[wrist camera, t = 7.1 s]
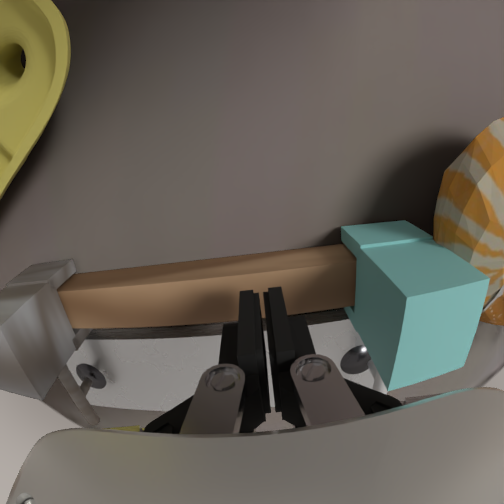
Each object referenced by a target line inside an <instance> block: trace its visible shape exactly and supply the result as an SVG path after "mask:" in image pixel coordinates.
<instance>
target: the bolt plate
mask: <svg viewBox="0 0 504 504" xmlns="http://www.w3.org/2000/svg"><path fill="white" fill-rule="evenodd" d="M303 315H304V316H305V318H306V322H307V325H308V328H309V332H310V335H311V338H312V342H313V345H314V349H315V352H316V354H320V355H323V356H327V357H328V358H330V359H331V360H332V361H333V362H334V363H335V365H336V366H337V368H338V370H339V371H340V373H341V375H342V376H343V378H345V379H348V380H350V381H353V382H355V383H358V384H360V385H363V386H365V387H368V388H370V389H372V388H373V384H374V378H373V376H372V374H371V372H370V370H369V367H368V365H367V363H368V361H369V360H371V357H370V355H369V353H368V351H367V349H366V347H365V345H364V343H363V341H362V339H361V337H360V335H359V334H358V332H356V331H355V329H354V327H353V325H352V323H351V321H350V319H349V317H348V315H347V314H346V312H345V310H344V309H338V310H332V311H325V312H318V313H311V314H303ZM296 316H300V315H296ZM288 317H292V316H288ZM233 323H238V322H233ZM262 323H263V331H264V339H265V347H266V358H267V370H268V382H269V395H270V407H275V402H274V393H273V385H272V376H271V367H270V359H269V349H268V339H267V328H266V319H262ZM223 324H228V323H221V324H209V325H196V326H181V327H164V328H141V329H102V330H91V332H90V333H89V334H88V336H87V337H86V339H85V340H84V342H83V343H82V345H81V346H80V347H79V349H78V350H77V351H74V353H73V354H72V356H71V357H70V359H69V360H68V362H67V363H66V365H67V366H68V368H69V370H70V372H71V374H72V375H73V377H74V379H75V381H76V382H77V384H78V386H79V387H80V386H81V384H82V382H83V380H84V378H89V379H91V380H92V382H93V384H92V385H91V387H90V389H89V391H88V393H87V395H86V399H87V400H88V402H89V403H90V405H96V406H104V407H113V408H123V409H136V410H153V411H169V410H171V409H173V408H174V407H176V406H177V405H179V404H180V403H182V402H183V401H185V400H186V399H188V398H189V397H191V396H192V395H194V393H195V391H196V388H197V386H198V383H199V380H200V378H201V376H202V374H203V373H204V372H205V371H206V370H207V369H209V368H211V367H212V366H215V365H218V362H219V354H220V345H221V337H222V328H223Z"/></svg>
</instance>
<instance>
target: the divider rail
mask: <svg viewBox="0 0 504 504" xmlns="http://www.w3.org/2000/svg"><path fill="white" fill-rule="evenodd" d="M356 264H357V258H356V257H355V255H354V254H353V253H352V252H351V251H350V250H349V249H348V248H347V246H346V245H345V244H336V245H328V246H319V247H310V248H301V249H293V250H284V251H275V252H266V253H258V254H249V255H240V256H231V257H222V258H214V259H205V260H196V261H187V262H178V263H169V264H160V265H151V266H142V267H133V268H125V269H116V270H107V271H98V272H88V273H79V274H74V273H75V272H76V267H75V264H74V261H73V259H70V260H63V261H56V262H49V263H42V264H35V265H31V266H29V267H28V268H27V269H25V270H24V271H23V272H21V273H20V274H19V275H17V276H16V277H15V278H13V279H12V280H11V281H9V282H8V283H7V284H6V286H7V287H5V288H4V289H3V290H1V291H0V389H1V390H5V391H8V392H11V393H15V394H19V395H23V396H26V397H30V398H34V399H39V400H43V399H44V398H45V396H46V394H47V393H48V391H49V389H50V388H51V386H52V385H53V383H54V382H55V380H56V378H57V377H58V378H59V379H60V381H61V383H62V384H63V386H64V387H65V389H66V391H67V392H68V394H69V395H70V397H71V398H72V400H73V401H74V403H75V404H76V406H77V407H78V409H79V410H80V412H81V413H82V414H83V416H84V417H85V419H86V420H87V421H88V423H89V424H90V425H92V426H94V425H97V424H98V423H99V422H100V418H99V417H98V415H97V414H96V412H95V411H94V409H93V408H92V406H91V405H90V403H89V402H88V400H87V399H86V395H87V393H88V391H89V389H90V387H91V385H92V384H93V382H92V380H91V379H89V378H84V380H83V382H82V384H81V386H80V387H79V386H78V384H77V382H76V381H75V379H74V377H73V375H72V374H71V372H70V370H69V368H68V366H67V365H66V363H67V362H68V360H69V359H70V357H71V356H72V354H73V353H74V351H77V350H78V349H79V347H80V346H81V345H82V343H83V342H84V340H85V339H86V337H87V336H88V334H89V333H90V332H91V330H92V329H93V328H135V327H158V326H176V325H192V324H205V323H218V322H229V321H238V315H239V293H240V291H245V290H253V292H254V293H259V298H260V306H261V314H262V318H265V308H264V297H263V292H268V288H272V287H280V286H281V288H282V292H283V297H284V301H285V306H286V311H287V315H293V314H301V313H308V312H315V311H322V310H329V309H336V308H342V307H349V306H355V291H356Z"/></svg>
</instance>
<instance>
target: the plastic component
mask: <svg viewBox="0 0 504 504" xmlns="http://www.w3.org/2000/svg"><path fill="white" fill-rule="evenodd" d="M22 49H23V50H24V52H25V55H26V66H25V69H24V68H23V66H22V64H21V53H22ZM70 58H71V46H70V36H69V31H68V26H67V24H66V21H65V19H64V17H63V16H62V14H61V13H60V11H59V10H58V8H57V7H56V6H55V4H54V3H53V2H52V1H51V0H0V200H1V198H2V196H3V195H4V193H5V191H6V190H7V188H8V186H9V185H10V183H11V182H12V180H13V179H14V177H15V176H16V174H17V172H18V171H19V170H20V168H21V167H22V165H23V164H24V162H25V161H26V159H27V157H28V155H29V153H30V152H31V150H32V149H33V147H34V146H35V144H36V143H37V141H38V139H39V138H40V136H41V135H42V133H43V131H44V129H45V127H46V125H47V123H48V122H49V120H50V118H51V116H52V114H53V112H54V110H55V108H56V106H57V104H58V102H59V99H60V97H61V94H62V92H63V89H64V86H65V83H66V80H67V76H68V72H69V67H70Z"/></svg>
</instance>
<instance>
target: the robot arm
mask: <svg viewBox="0 0 504 504" xmlns="http://www.w3.org/2000/svg"><path fill="white" fill-rule="evenodd" d="M263 297H264V308H265V318H266V328H267V339H268V349H269V359H270V367H271V376H272V385H273V393H274V402H275V411H276V412H282V420H286V421H287V422H289V423H291V424H293V428H292V429H284V430H275V431H265V432H256V428H257V427H258V426H259V425H260V424H261V423H262V422H265V421H266V417H265V413H271V407H270V395H269V382H268V370H267V358H266V347H265V339H264V331H263V323H262V314H261V306H260V298H259V293H254V292H253V290H245V291H240V293H239V315H238V323H228V324H223V328H222V337H221V345H220V354H219V362H218V365H215V366H212V367H211V368H209V369H207V370H206V371H205V372H204V373H203V374H202V376H201V378H200V380H199V383H198V386H197V388H196V391H195V393H194V395H192V396H191V397H189V398H188V399H186V400H185V401H183V402H182V403H180V404H179V405H177V406H176V407H174V408H173V409H171V410H169V411H168V412H166V413H165V414H163V415H161V416H160V417H158V418H157V419H155V420H153V421H152V422H151V423H149V424H148V425H147V426H146V427H145V428H141V427H140V425H138V426H129V427H118V428H104V429H100V428H71V429H64V430H58V431H55V432H51V433H49V434H46V435H45V436H43V437H42V438H41V439H39V440H38V442H37V443H36V444H35V445H34V447H33V448H32V450H31V451H30V453H29V454H28V456H27V458H26V460H25V461H24V463H23V465H22V467H21V469H20V471H19V473H18V475H17V478H16V480H15V482H14V484H13V487H12V489H11V492H10V495H9V497H8V500H7V503H6V504H504V391H503V390H500V389H497V388H490V387H479V388H467V389H461V390H456V391H452V392H448V393H441V394H434V395H427V396H418V397H409V398H405V400H404V401H399V400H397V399H396V398H394V397H392V396H389V395H386V394H384V393H381V392H378V391H376V390H373V389H370V388H368V387H365V386H363V385H360V384H358V383H355V382H353V381H350V380H348V379H345V378H343V376H342V375H341V373H340V371H339V370H338V368H337V366H336V365H335V363H334V362H333V361H332V360H331V359H330V358H328V357H327V356H323V355H320V354H316V352H315V349H314V345H313V342H312V338H311V335H310V332H309V328H308V325H307V322H306V318H305V316H304V315H300V316H292V317H288V315H287V311H286V306H285V301H284V297H283V292H282V288H281V286H280V287H272V288H268V292H263Z"/></svg>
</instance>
